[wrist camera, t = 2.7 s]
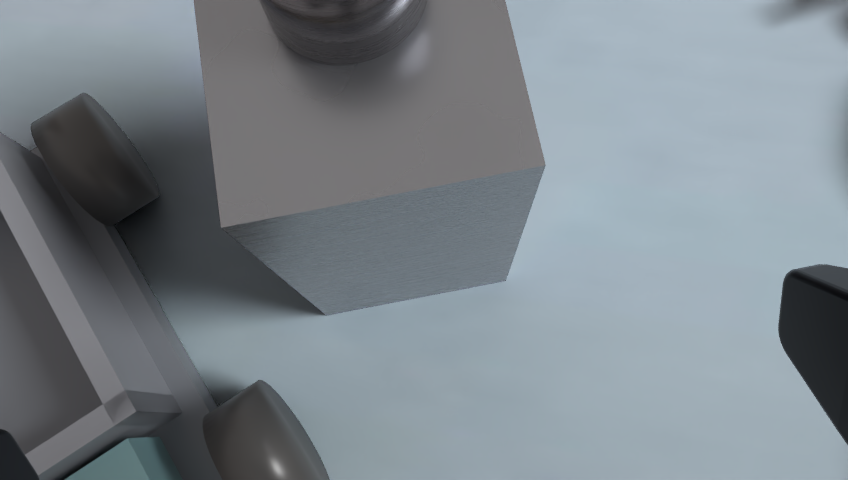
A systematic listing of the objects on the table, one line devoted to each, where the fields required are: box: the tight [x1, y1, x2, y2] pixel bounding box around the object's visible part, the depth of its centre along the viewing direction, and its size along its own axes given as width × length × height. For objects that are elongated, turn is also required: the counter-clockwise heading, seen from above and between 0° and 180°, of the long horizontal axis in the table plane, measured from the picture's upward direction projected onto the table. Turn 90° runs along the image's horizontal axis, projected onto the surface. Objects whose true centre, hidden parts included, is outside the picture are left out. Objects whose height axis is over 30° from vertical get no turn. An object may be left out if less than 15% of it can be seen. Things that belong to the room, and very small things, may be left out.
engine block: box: [194, 0, 545, 315], centre depth 17 cm, size 6×6×12 cm
